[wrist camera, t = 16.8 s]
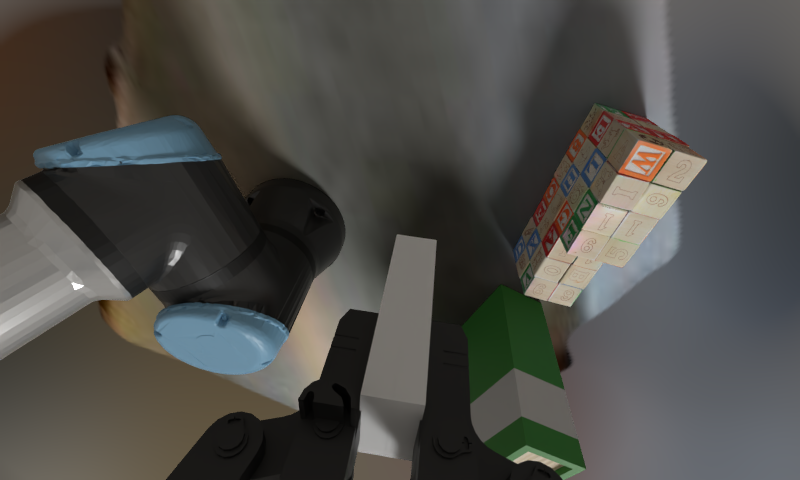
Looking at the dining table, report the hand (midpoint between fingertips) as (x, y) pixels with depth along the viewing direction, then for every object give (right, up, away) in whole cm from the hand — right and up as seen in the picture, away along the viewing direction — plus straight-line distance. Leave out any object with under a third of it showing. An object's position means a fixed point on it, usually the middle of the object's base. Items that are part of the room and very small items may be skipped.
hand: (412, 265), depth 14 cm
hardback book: (+14, -13, +47) cm, 51 cm away
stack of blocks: (+21, +7, +32) cm, 39 cm away
